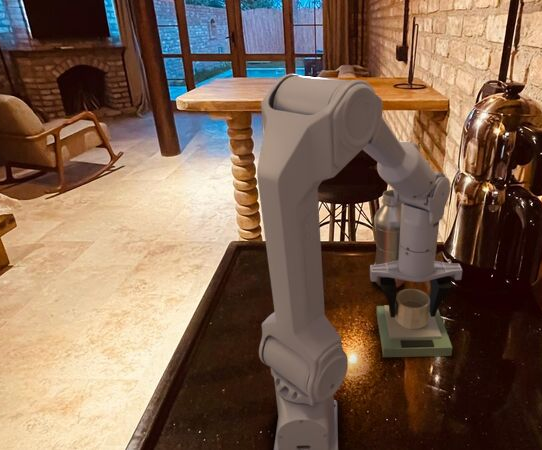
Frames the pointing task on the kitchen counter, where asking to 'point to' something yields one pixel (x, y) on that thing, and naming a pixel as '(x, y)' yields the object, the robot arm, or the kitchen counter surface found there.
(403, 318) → the dip bowl
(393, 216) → the metal water bottle
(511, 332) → the kitchen counter surface
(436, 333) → the scale
